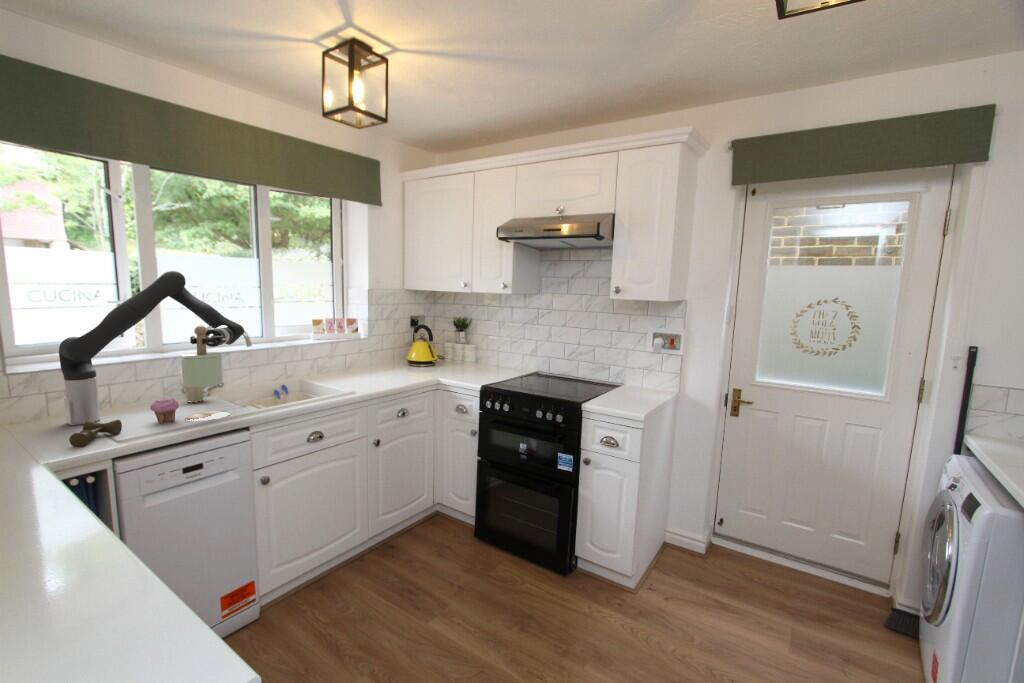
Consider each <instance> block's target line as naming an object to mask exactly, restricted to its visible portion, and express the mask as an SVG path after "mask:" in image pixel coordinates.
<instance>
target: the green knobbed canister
mask: <svg viewBox="0 0 1024 683" xmlns="http://www.w3.org/2000/svg"><path fill="white" fill-rule="evenodd" d="M207 330H208V329H207V327H205V326H204V325H197V326H195V327H194V330H193V332H194V334H195V337H196V344H195V345H196V352H191V353H185V354H181V360H180V361H181V374H182V375H181V376H182V384H183V385H182V387H183V386H185V387H211V386H212V387H213V386H217V385H222V384H223V383H224V376H223V355H222V353H221V352H217V351H216V352H215V351H214V352H211V351H208V350H207V345H206V344H202V339H203V338H206V333H207ZM207 351H208V352H207Z"/></svg>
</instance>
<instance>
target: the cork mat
mask: <svg viewBox="0 0 1024 683" xmlns="http://www.w3.org/2000/svg"><path fill="white" fill-rule="evenodd" d="M218 412H227V411H225V410H223V411H222V410H215V411H205V412H198V413H194V414H190V415H188V416H185V417H184V421H186V419H187V420H190V419H193V420H194V419H199V418H205V417H208V416H211V415H212V414H215V413H218Z"/></svg>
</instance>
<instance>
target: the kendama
mask: <svg viewBox="0 0 1024 683" xmlns="http://www.w3.org/2000/svg"><path fill="white" fill-rule="evenodd" d="M82 425H83V426H82V430H81V431H80V432H75V433H73V434H71V435H70V436H69V439H68V442H69V444H70V445H71V447H74V448H82V447H85V446H87V445H88V443H90V442H92V441H94V440H95V437H96V435H98V434H99V433H106V434H110V435H112V436H117V434H118V435H120V433H121V432H122V427H123V425H122V421H121V420H120V419H114V420H112V421H108V422H102V423H101V422H98V421H96V422H95V421H93V420H87V421H86V422H85V423H84V424H82Z"/></svg>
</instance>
